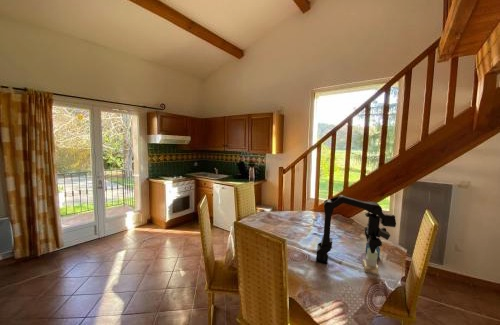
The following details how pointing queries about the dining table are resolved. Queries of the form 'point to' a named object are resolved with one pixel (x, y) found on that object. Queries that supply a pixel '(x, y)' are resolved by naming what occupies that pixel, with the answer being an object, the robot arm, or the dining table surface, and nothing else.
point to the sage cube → (372, 255)
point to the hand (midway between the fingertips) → (371, 249)
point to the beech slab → (370, 268)
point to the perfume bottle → (376, 249)
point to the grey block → (370, 262)
